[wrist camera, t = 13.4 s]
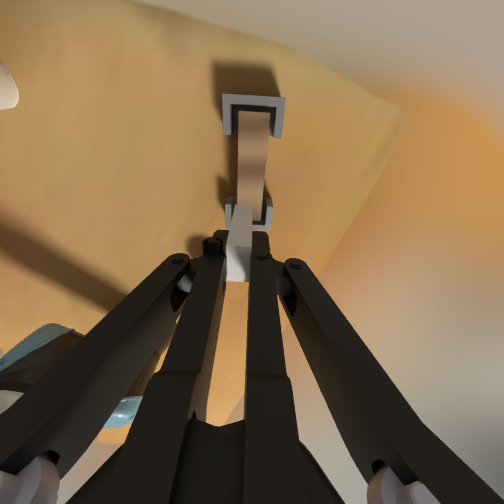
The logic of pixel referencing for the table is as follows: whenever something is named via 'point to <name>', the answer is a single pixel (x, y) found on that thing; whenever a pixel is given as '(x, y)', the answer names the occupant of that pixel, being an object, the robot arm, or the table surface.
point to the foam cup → (7, 90)
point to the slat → (252, 159)
